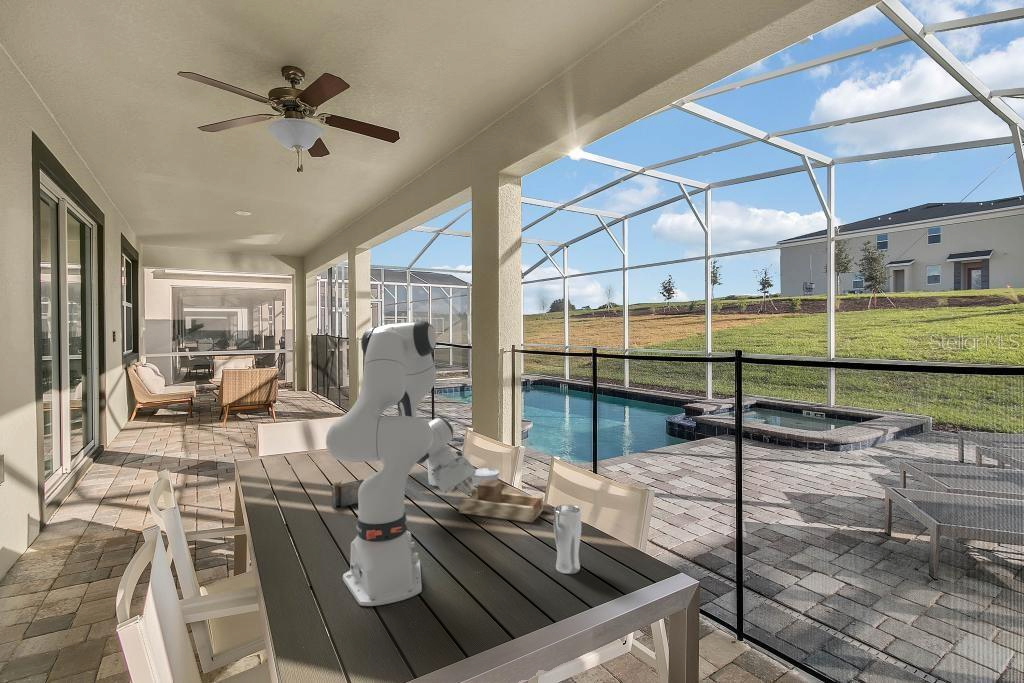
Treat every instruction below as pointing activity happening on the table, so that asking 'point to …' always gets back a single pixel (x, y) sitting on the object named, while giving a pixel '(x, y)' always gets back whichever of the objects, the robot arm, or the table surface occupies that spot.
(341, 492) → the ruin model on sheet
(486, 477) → the ramekin
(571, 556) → the beer glass
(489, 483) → the walnut block
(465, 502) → the pine chute
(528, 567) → the table surface
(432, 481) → the candle holder
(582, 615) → the table surface
